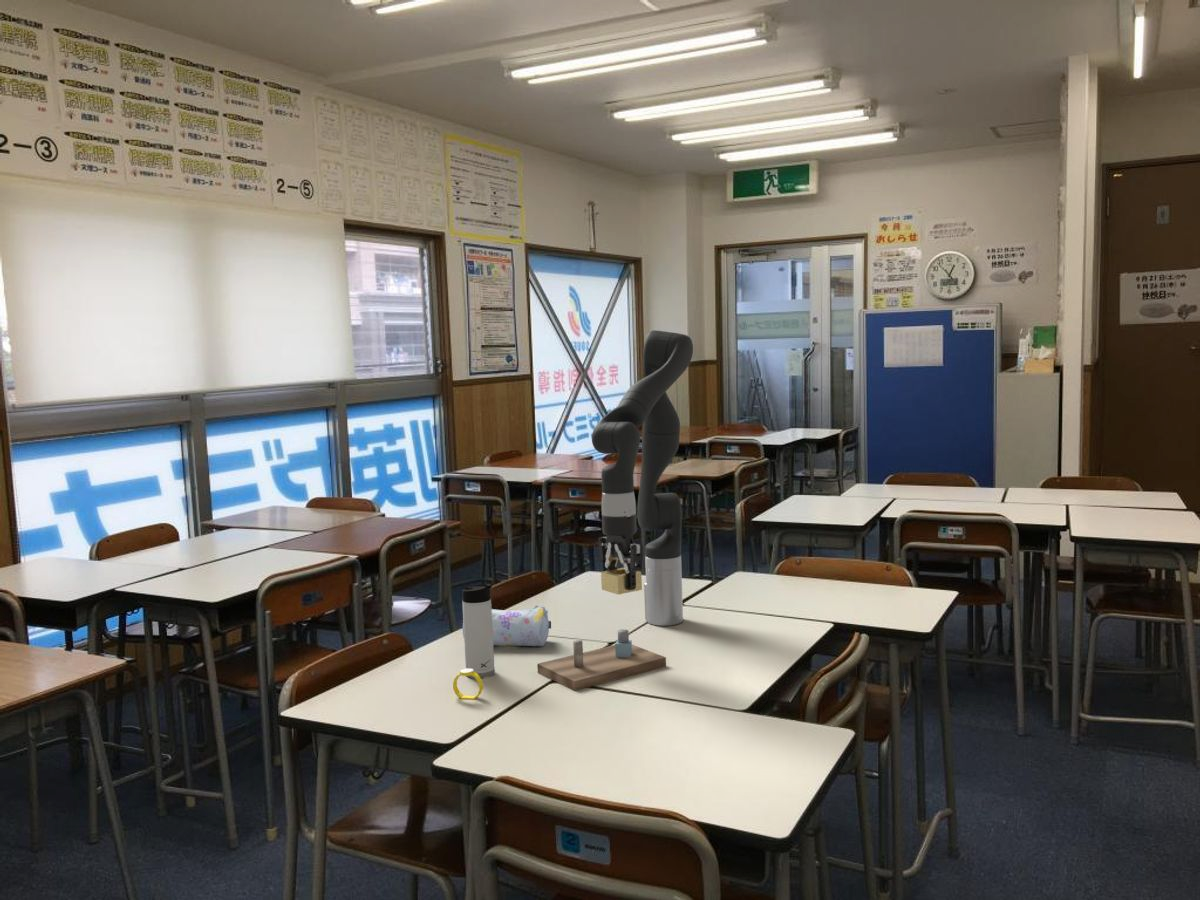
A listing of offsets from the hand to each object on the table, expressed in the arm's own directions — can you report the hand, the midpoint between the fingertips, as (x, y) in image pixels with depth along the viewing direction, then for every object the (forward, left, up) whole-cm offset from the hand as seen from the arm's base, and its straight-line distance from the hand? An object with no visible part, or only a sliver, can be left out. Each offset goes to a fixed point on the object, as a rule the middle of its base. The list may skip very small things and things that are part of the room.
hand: (621, 586), depth 212 cm
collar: (0, 0, -1) cm, 1 cm away
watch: (-3, -37, -18) cm, 41 cm away
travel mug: (-15, -28, -18) cm, 37 cm away
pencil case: (-31, -13, -18) cm, 38 cm away
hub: (0, 0, -16) cm, 16 cm away
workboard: (0, -6, -18) cm, 19 cm away
